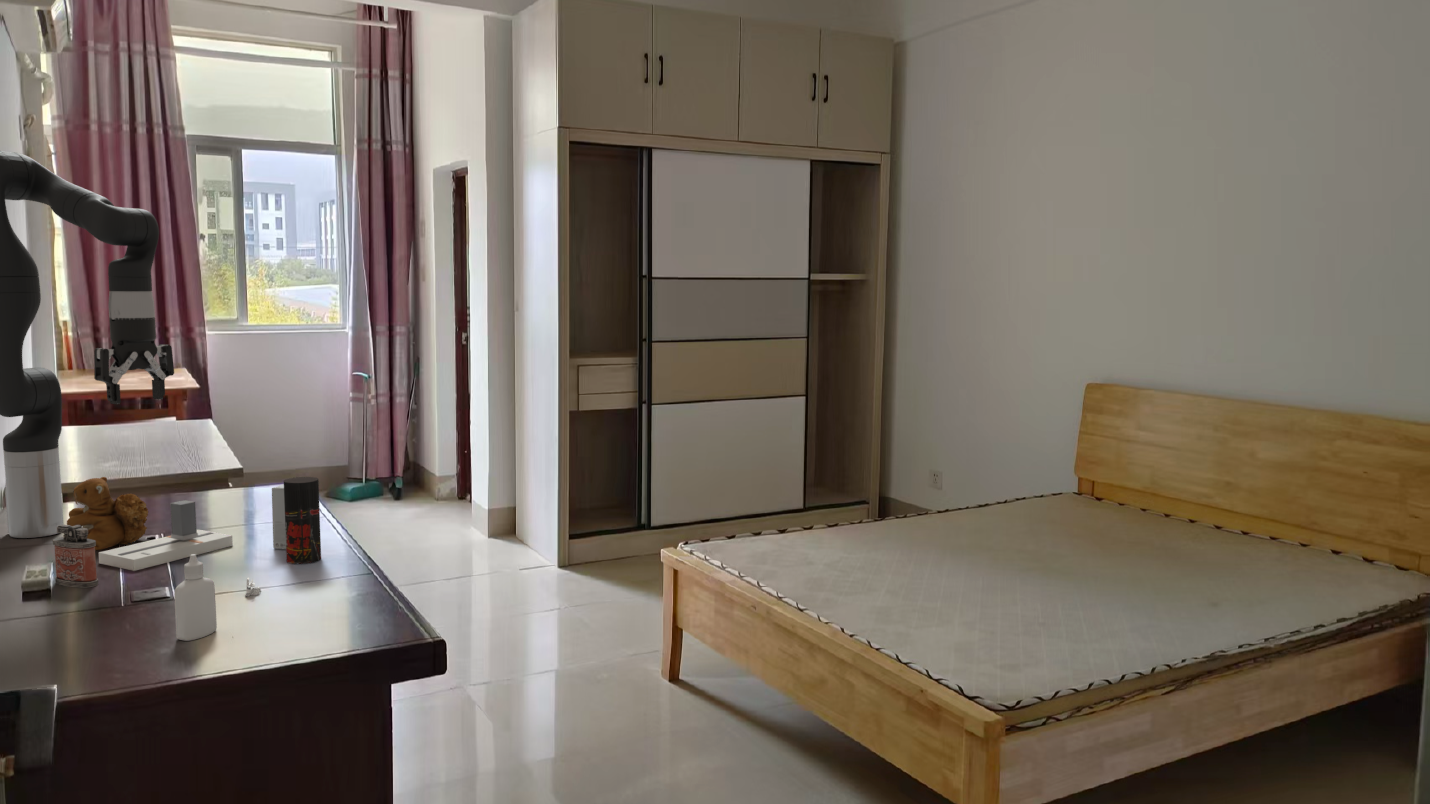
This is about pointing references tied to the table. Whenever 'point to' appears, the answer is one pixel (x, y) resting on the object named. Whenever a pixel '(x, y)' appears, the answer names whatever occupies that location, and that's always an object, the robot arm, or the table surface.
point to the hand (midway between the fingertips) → (136, 401)
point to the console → (163, 550)
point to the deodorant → (302, 520)
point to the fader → (183, 520)
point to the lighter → (75, 557)
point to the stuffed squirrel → (108, 514)
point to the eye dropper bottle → (195, 603)
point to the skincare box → (278, 517)
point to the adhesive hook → (252, 590)
